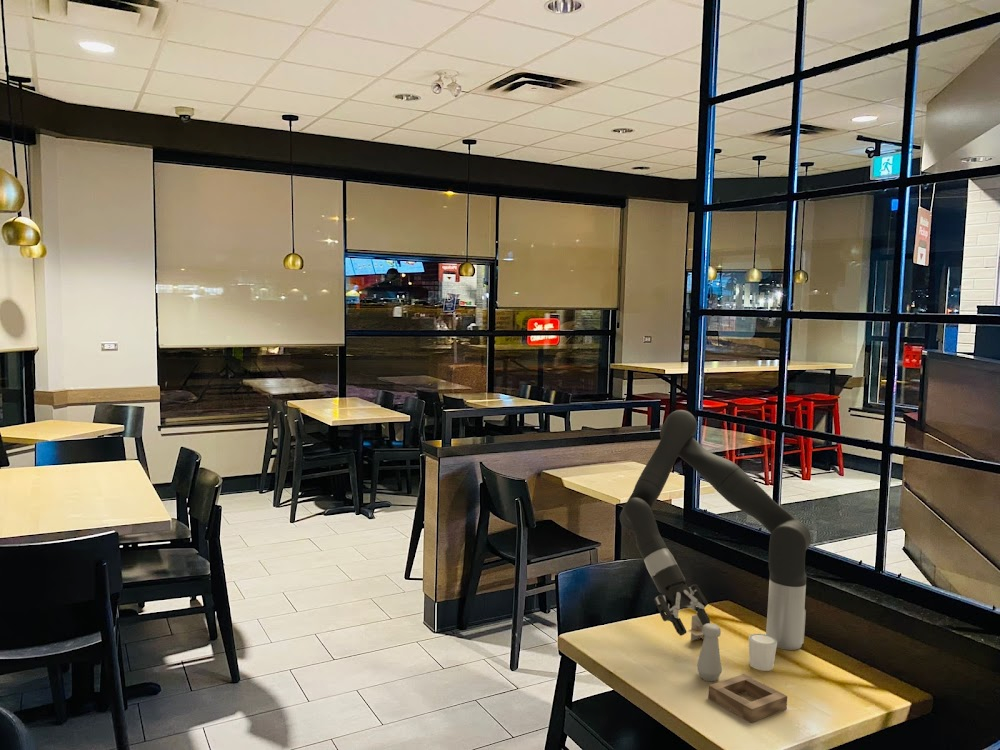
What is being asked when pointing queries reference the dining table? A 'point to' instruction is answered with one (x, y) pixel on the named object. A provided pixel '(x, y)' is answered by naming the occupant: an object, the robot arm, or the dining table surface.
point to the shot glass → (762, 651)
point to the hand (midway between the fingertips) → (695, 629)
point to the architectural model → (696, 628)
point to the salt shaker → (710, 653)
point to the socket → (751, 711)
